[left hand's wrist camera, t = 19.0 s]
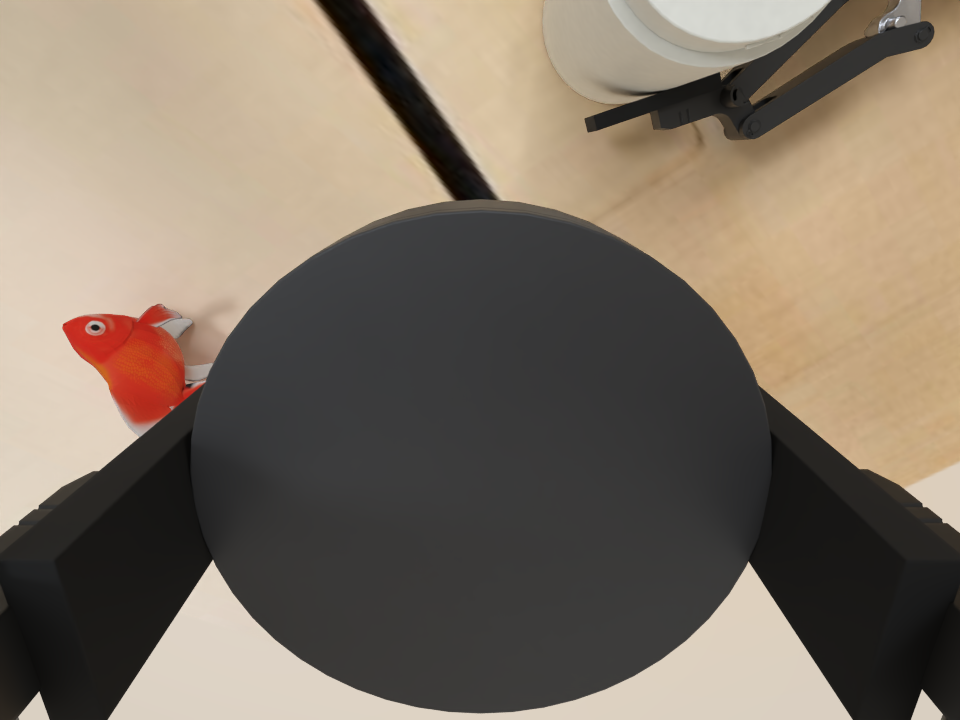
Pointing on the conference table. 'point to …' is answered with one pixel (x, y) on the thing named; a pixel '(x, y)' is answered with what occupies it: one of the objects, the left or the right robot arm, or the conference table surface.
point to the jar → (662, 41)
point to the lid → (481, 459)
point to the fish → (138, 361)
